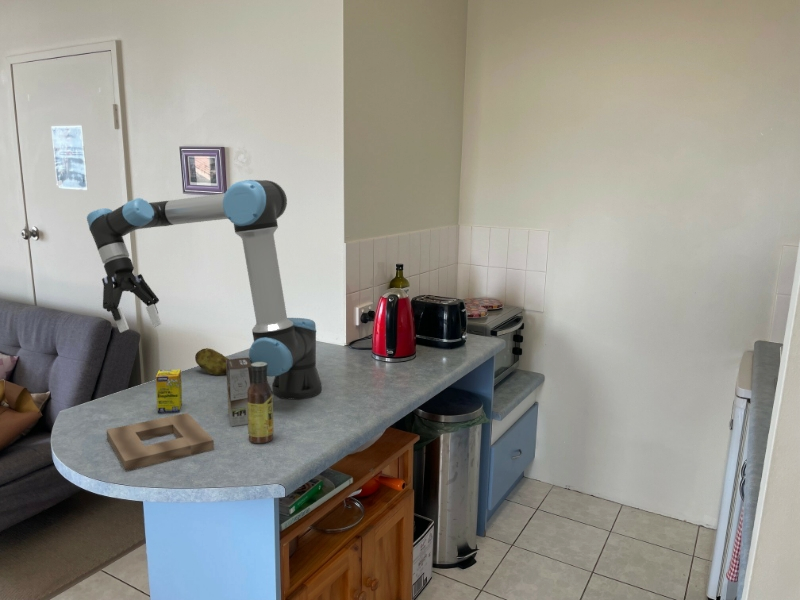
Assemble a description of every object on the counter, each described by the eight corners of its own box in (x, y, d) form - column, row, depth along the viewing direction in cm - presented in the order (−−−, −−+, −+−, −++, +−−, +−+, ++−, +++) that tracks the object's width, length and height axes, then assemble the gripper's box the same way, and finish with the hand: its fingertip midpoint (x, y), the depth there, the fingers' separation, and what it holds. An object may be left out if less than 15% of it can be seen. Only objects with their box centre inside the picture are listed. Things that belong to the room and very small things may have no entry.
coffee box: (255, 423, 161) (254, 366, 158) (231, 426, 158) (228, 369, 155) (250, 411, 169) (249, 356, 166) (227, 414, 167) (225, 359, 163)
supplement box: (157, 414, 165) (155, 376, 163) (160, 406, 171) (158, 369, 169) (180, 412, 167) (178, 375, 164) (182, 404, 172) (180, 368, 170)
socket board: (188, 421, 161) (187, 412, 160) (213, 449, 145) (213, 440, 145) (107, 438, 149) (106, 429, 149) (125, 471, 134) (125, 461, 133)
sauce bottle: (274, 443, 150) (273, 367, 145) (248, 445, 148) (247, 369, 144) (272, 432, 156) (271, 359, 152) (247, 434, 154) (245, 361, 150)
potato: (218, 380, 193) (217, 356, 192) (191, 372, 200) (190, 349, 198) (237, 373, 200) (236, 350, 199) (211, 366, 207) (210, 344, 205)
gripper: (137, 265, 188) (160, 328, 187) (72, 266, 164) (99, 337, 163) (155, 256, 186) (179, 319, 185) (92, 255, 162) (119, 328, 161)
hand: (141, 328), depth 174 cm, fingers open, 13 cm apart
